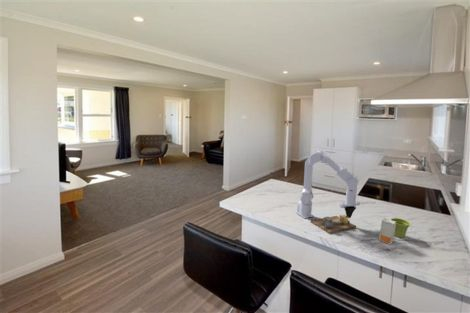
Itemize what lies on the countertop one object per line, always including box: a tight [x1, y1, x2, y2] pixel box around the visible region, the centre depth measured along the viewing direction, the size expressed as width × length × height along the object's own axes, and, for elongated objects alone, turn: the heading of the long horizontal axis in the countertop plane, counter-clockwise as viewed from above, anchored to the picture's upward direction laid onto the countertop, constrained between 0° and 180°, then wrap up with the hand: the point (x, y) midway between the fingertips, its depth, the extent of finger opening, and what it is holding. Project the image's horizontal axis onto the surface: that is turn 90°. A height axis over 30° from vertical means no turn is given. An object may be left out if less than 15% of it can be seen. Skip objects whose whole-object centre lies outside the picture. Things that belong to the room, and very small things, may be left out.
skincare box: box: [378, 218, 396, 245], centre depth 139 cm, size 6×4×12 cm
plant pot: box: [390, 217, 411, 239], centre depth 147 cm, size 9×9×9 cm
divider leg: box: [338, 214, 349, 225], centre depth 158 cm, size 5×3×5 cm, turn 24°
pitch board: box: [310, 215, 357, 234], centre depth 158 cm, size 16×21×7 cm
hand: (348, 217), depth 159 cm, fingers closed
